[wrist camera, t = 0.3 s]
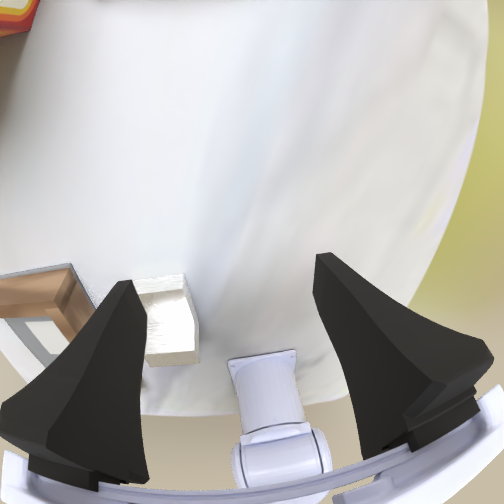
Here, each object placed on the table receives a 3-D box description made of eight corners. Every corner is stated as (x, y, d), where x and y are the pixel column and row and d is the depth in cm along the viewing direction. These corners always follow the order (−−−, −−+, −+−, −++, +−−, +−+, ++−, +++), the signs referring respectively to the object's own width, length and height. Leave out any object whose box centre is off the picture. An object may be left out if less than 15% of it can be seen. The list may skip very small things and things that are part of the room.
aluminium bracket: (198, 319, 26) (199, 363, 22) (154, 324, 26) (150, 367, 22) (183, 271, 22) (181, 317, 18) (133, 279, 22) (122, 323, 18)
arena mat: (140, 374, 31) (139, 377, 30) (53, 372, 29) (52, 375, 29) (70, 262, 20) (68, 266, 20) (-20, 279, 19) (-22, 282, 18)
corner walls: (141, 376, 31) (139, 406, 27) (55, 374, 30) (49, 399, 26) (71, 264, 20) (53, 300, 16) (-19, 280, 19) (-36, 307, 15)
